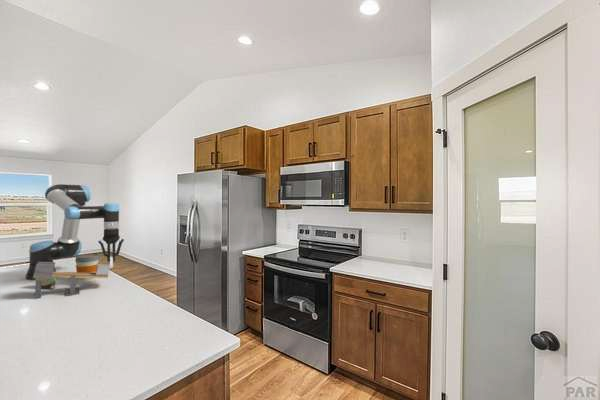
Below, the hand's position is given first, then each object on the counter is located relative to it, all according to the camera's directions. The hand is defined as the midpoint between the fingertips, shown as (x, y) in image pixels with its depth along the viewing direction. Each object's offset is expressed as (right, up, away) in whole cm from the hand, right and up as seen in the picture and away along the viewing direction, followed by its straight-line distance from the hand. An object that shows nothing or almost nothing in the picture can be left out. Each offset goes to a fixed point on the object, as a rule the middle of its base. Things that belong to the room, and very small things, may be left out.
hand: (111, 267), depth 163 cm
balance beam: (-14, -2, -11) cm, 18 cm away
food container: (-34, -11, -4) cm, 36 cm away
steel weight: (-4, -4, -3) cm, 6 cm away
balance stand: (-18, -11, -15) cm, 26 cm away
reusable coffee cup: (-26, -12, +15) cm, 32 cm away
